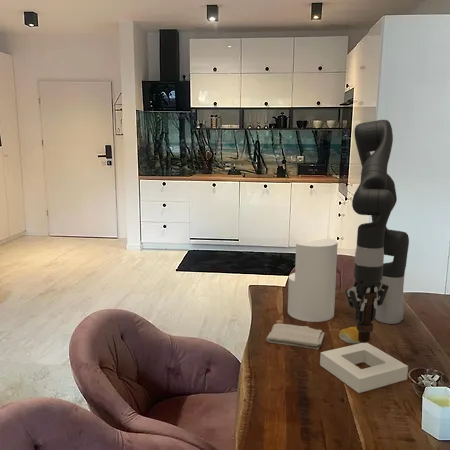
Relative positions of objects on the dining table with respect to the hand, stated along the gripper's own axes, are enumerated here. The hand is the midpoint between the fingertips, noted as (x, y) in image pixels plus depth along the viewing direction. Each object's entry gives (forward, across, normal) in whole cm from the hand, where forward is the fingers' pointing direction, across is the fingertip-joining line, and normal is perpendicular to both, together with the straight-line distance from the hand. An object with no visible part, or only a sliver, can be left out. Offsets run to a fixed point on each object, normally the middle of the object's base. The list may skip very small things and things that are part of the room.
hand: (365, 320), depth 134 cm
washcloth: (+16, +5, -27) cm, 32 cm away
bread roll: (+16, -13, -19) cm, 28 cm away
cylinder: (+16, -13, -44) cm, 48 cm away
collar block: (+15, 0, 0) cm, 15 cm away
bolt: (+6, 0, 0) cm, 6 cm away
